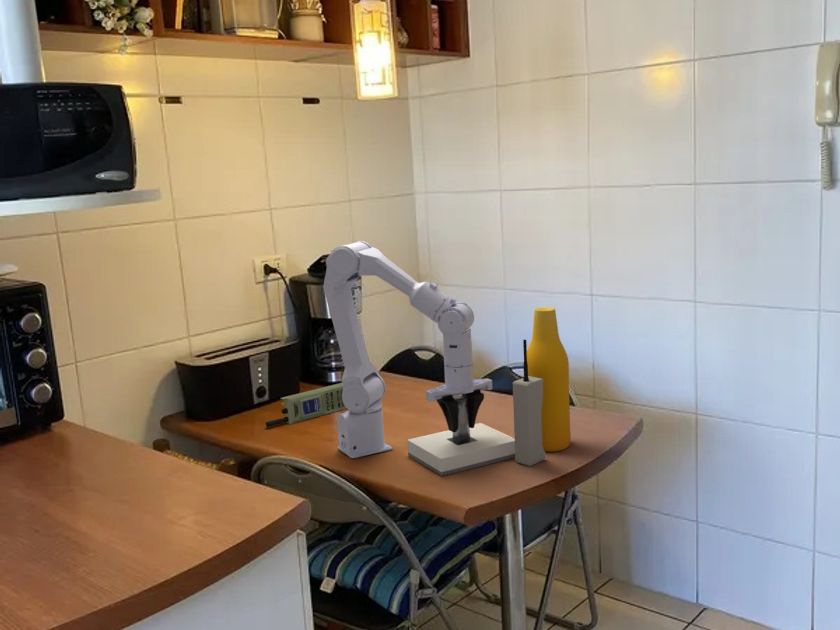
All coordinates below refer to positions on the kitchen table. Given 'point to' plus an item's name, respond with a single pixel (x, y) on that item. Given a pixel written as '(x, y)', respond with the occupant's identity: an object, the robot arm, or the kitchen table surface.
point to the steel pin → (462, 421)
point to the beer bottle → (551, 379)
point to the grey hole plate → (461, 450)
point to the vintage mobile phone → (528, 417)
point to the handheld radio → (311, 404)
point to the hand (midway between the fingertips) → (461, 428)
